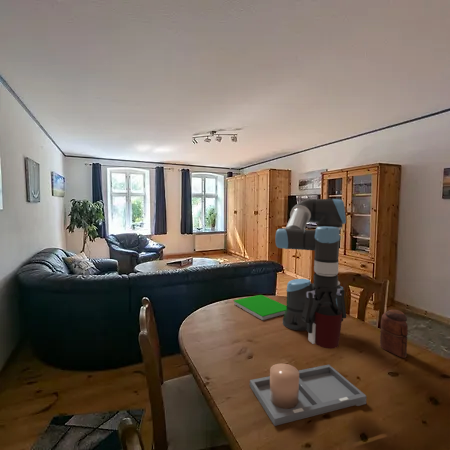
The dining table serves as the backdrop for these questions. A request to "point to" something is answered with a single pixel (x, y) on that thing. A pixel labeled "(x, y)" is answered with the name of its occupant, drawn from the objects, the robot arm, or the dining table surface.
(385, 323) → the brown leather pouch
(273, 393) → the peach rounded cylinder
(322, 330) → the mug
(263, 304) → the book
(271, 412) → the holder
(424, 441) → the dining table surface
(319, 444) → the dining table surface
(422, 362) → the dining table surface
